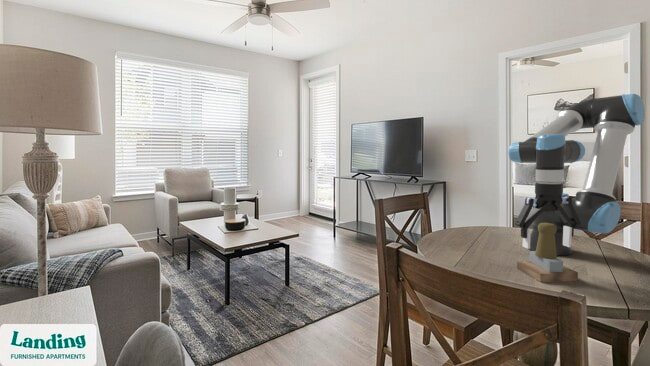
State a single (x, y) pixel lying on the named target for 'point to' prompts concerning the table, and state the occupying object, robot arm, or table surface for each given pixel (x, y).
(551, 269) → the slate-grey block
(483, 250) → the table surface
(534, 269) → the wooden flat board
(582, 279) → the table surface
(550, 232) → the olive ball-ended rod
